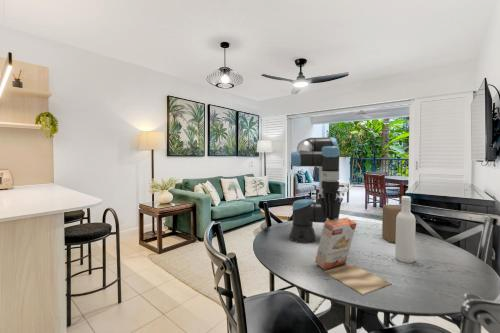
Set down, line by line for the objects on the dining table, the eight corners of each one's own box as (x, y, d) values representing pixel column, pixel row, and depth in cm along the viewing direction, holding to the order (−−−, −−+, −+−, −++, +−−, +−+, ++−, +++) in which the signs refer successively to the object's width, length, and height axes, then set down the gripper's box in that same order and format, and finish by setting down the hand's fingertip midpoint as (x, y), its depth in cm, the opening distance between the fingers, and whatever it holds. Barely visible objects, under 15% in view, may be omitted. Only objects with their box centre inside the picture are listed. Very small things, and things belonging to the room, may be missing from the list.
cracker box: (324, 270, 105) (333, 227, 100) (314, 261, 110) (323, 220, 105) (346, 263, 112) (357, 223, 106) (337, 255, 117) (346, 216, 111)
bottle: (391, 257, 118) (392, 196, 117) (402, 255, 121) (403, 194, 120) (407, 264, 111) (409, 198, 109) (418, 261, 114) (420, 197, 112)
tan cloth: (324, 272, 104) (324, 271, 104) (351, 264, 111) (351, 263, 111) (362, 295, 87) (362, 293, 87) (391, 284, 94) (391, 283, 94)
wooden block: (398, 237, 147) (399, 204, 146) (407, 243, 137) (408, 208, 136) (381, 237, 148) (382, 204, 147) (389, 243, 138) (389, 207, 137)
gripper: (314, 179, 114) (313, 229, 115) (334, 182, 103) (334, 237, 103) (326, 179, 118) (325, 227, 118) (347, 181, 106) (347, 235, 107)
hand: (329, 232), depth 111 cm, fingers closed
